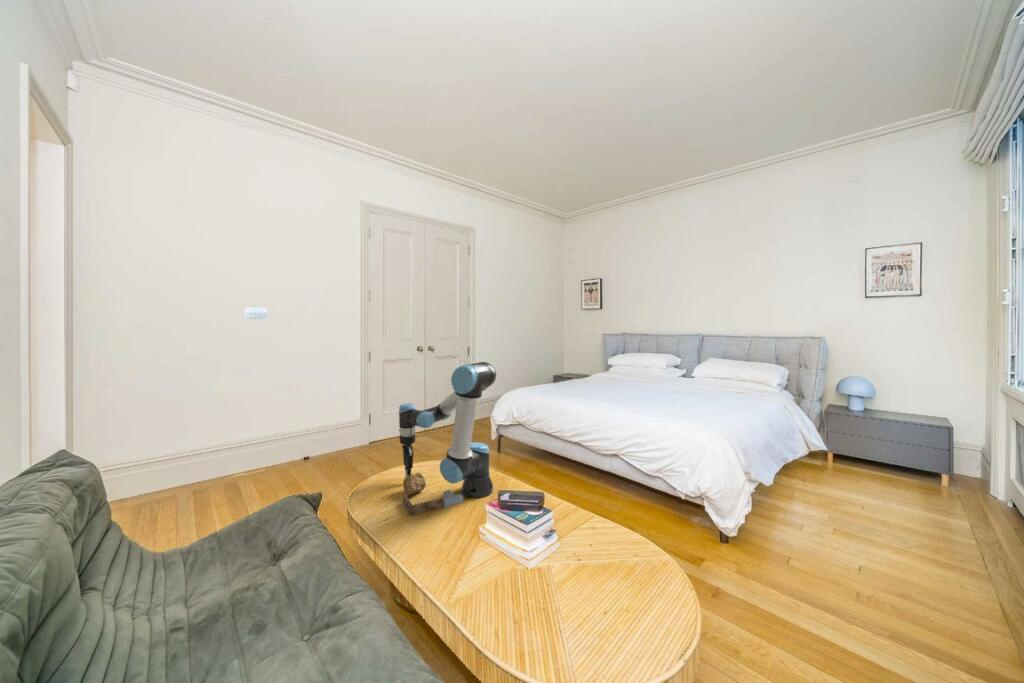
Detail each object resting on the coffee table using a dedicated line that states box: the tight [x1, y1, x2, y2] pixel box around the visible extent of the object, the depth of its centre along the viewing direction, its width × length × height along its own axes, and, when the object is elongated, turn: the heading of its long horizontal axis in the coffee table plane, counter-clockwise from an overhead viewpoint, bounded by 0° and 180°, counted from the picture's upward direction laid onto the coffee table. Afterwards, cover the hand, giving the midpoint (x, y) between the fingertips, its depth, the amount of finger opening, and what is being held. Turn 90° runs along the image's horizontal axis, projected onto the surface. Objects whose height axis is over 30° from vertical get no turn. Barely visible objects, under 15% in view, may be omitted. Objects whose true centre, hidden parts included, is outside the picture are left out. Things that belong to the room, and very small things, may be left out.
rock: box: [402, 472, 427, 497], centre depth 187 cm, size 12×10×10 cm
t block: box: [442, 489, 464, 508], centre depth 180 cm, size 9×9×3 cm
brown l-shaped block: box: [402, 494, 444, 516], centre depth 176 cm, size 15×12×4 cm
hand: (408, 480), depth 197 cm, fingers closed
